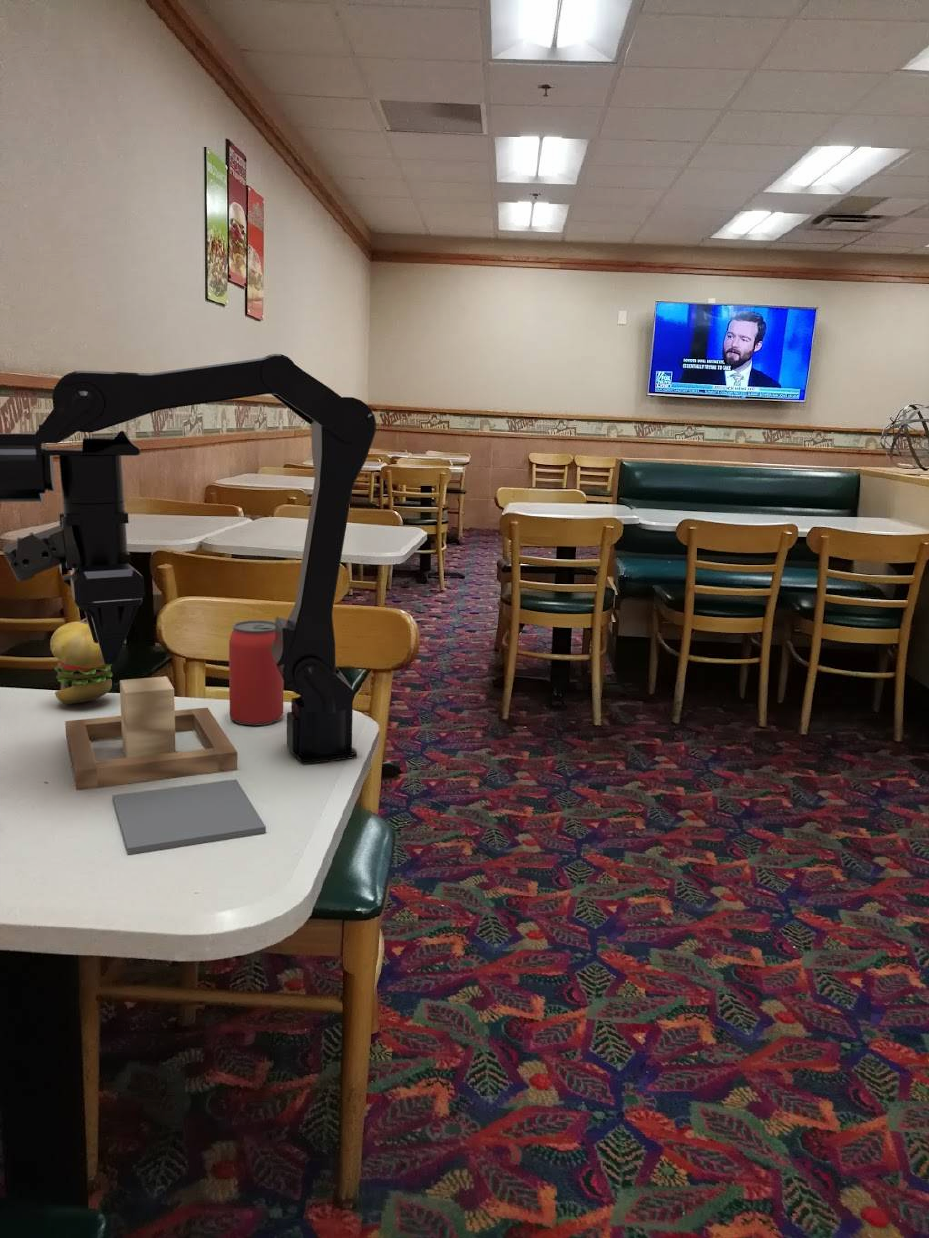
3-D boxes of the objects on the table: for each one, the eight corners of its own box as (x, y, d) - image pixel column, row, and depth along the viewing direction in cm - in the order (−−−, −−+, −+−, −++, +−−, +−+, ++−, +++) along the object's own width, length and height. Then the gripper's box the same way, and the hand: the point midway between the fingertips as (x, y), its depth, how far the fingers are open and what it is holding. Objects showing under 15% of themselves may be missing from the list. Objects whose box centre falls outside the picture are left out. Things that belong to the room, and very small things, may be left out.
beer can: (270, 729, 112) (270, 633, 110) (220, 723, 114) (219, 628, 111) (291, 713, 119) (291, 621, 116) (243, 707, 120) (242, 617, 117)
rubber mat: (236, 784, 96) (236, 779, 96) (265, 832, 85) (265, 826, 85) (112, 801, 90) (112, 795, 90) (127, 854, 80) (127, 848, 80)
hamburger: (98, 692, 124) (94, 604, 121) (128, 704, 119) (125, 613, 116) (41, 704, 118) (36, 612, 115) (71, 717, 113) (66, 622, 111)
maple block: (168, 743, 106) (166, 676, 105) (175, 758, 102) (174, 688, 100) (122, 748, 104) (119, 680, 102) (127, 764, 100) (125, 693, 98)
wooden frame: (207, 723, 114) (207, 707, 113) (237, 769, 100) (237, 751, 99) (66, 737, 107) (65, 721, 106) (76, 789, 93) (75, 771, 92)
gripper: (1, 495, 97) (14, 640, 100) (6, 514, 81) (22, 686, 84) (114, 492, 102) (123, 630, 105) (140, 510, 86) (150, 672, 89)
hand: (104, 652), depth 96 cm, fingers open, 9 cm apart
